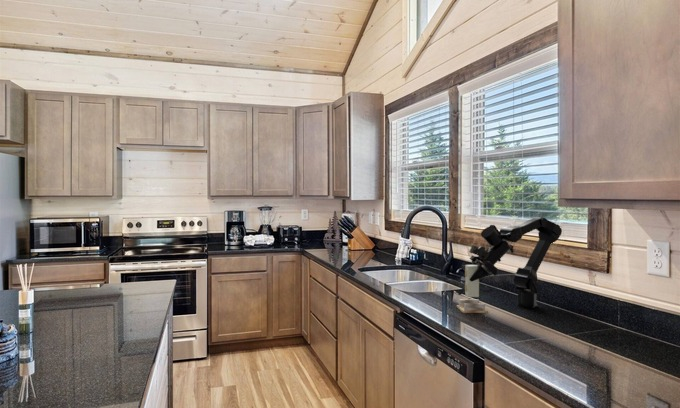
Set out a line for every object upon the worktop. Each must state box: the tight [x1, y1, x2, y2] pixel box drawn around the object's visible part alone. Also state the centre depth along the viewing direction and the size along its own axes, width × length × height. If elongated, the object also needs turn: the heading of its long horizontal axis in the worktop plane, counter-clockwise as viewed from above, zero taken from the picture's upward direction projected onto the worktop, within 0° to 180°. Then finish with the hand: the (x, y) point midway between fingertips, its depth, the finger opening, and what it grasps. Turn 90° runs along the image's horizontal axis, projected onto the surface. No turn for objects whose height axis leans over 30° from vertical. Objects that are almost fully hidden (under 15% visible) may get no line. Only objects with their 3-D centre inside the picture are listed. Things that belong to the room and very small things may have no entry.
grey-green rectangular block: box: [464, 264, 480, 298], centre depth 177 cm, size 5×4×12 cm
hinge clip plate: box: [456, 298, 489, 314], centre depth 177 cm, size 10×9×3 cm
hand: (468, 279), depth 177 cm, fingers closed on grey-green rectangular block, 4 cm apart
